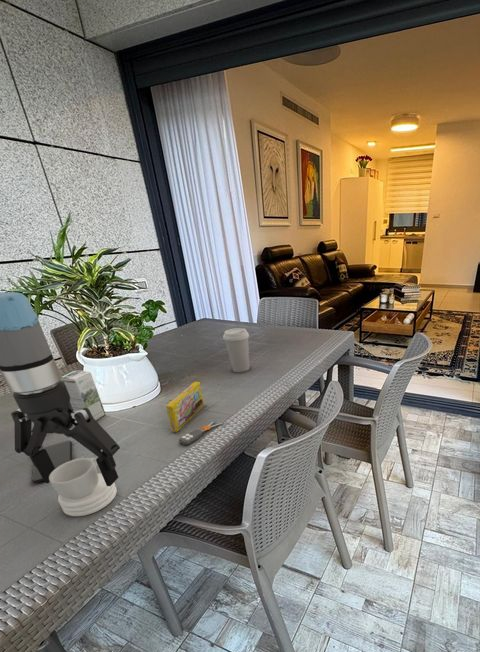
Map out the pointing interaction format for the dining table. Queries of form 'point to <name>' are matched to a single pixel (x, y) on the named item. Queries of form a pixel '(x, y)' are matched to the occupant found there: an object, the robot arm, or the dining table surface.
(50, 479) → the teacup
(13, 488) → the dining table surface
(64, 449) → the smartphone
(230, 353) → the coffee cup
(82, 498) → the coaster
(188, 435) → the key chain
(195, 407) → the candy box
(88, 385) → the syrup box
